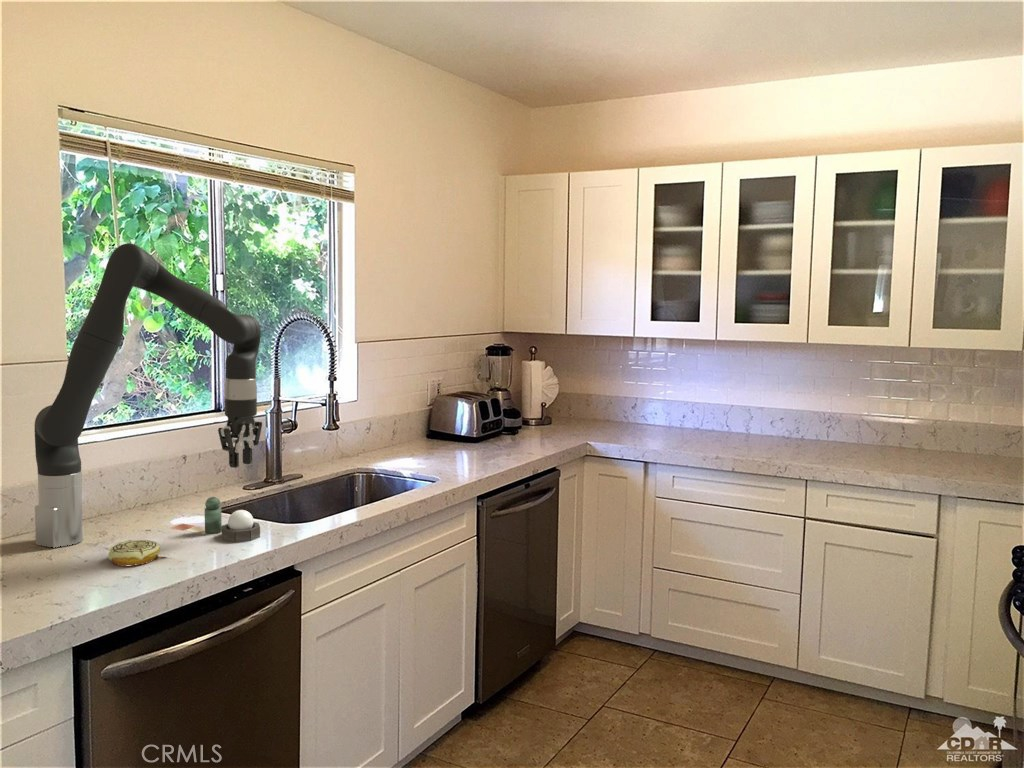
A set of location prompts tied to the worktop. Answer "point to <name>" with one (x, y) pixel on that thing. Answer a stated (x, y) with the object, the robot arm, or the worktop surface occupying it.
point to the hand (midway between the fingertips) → (240, 465)
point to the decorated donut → (134, 552)
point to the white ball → (240, 520)
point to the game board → (227, 532)
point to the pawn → (213, 516)
